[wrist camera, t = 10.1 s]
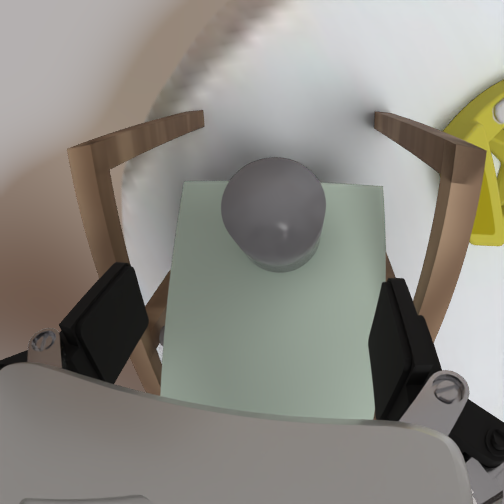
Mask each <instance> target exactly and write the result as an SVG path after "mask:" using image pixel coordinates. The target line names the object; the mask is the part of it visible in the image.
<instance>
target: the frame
mask: <svg viewBox="0 0 504 504" xmlns="http://www.w3.org/2000/svg"><path fill="white" fill-rule="evenodd" d="M202 127H204V116H203V110H199V111H189V112H183V113H179V114H175V115H171V116H167V117H164V118H160V119H156V120H152V121H149V122H145V123H142V124H138V125H135V126H132V127H128V128H125V129H122V130H119V131H116V132H113V133H110V134H107V135H104V136H101V137H98V138H95V139H92V140H89V141H87V142H84V143H81V144H79V145H76V146H73V147H71V148H68V149H67V152H68V157H69V163H70V168H71V173H72V178H73V183H74V188H75V192H76V197H77V201H78V205H79V209H80V214H81V218H82V221H83V225H84V229H85V233H86V236H87V239H88V243H89V247H90V250H91V254H92V257H93V260H94V263H95V266H96V270H97V273H98V275H99V279H100V278H101V277H102V275H103V274H104V273H105V272H106V271H107V270H108V269H109V268H110V267H111V266H112V265H113V264H114V263H115V262H123V263H129V264H130V262H129V258H128V254H127V250H126V246H125V242H124V238H123V233H122V229H121V225H120V221H119V216H118V211H117V206H116V202H115V197H114V191H113V187H112V182H111V175H110V169H112V168H114V167H116V166H118V165H120V164H121V163H124V162H126V161H128V160H130V159H132V158H134V157H136V156H138V155H140V154H142V153H144V152H146V151H148V150H151V149H153V148H155V147H157V146H159V145H162V144H164V143H166V142H168V141H171V140H173V139H175V138H177V137H180V136H182V135H185V134H187V133H189V132H192V131H194V130H197V129H199V128H202ZM374 129H376V130H377V131H379V132H381V133H382V134H384V135H385V136H387V137H388V138H390V139H391V140H393V141H394V142H396V143H398V144H399V145H401V146H402V147H403V148H405V149H406V150H408V151H409V152H411V153H412V154H414V155H415V156H416V157H418V158H419V159H421V160H422V161H423V162H425V163H426V164H428V165H429V166H430V167H432V168H433V169H434V170H436V171H437V172H438V173H440V174H441V177H440V184H439V190H438V197H437V203H436V208H435V214H434V219H433V224H432V229H431V234H430V238H429V243H428V247H427V251H426V256H425V260H424V264H423V268H422V271H421V275H420V279H419V283H418V286H417V290H416V293H415V296H414V300H413V303H414V306H415V309H416V312H417V314H418V315H422V316H424V318H425V320H426V323H427V326H428V329H429V332H430V335H431V338H432V341H433V343H434V341H435V338H436V336H437V334H438V331H439V329H440V326H441V324H442V322H443V319H444V316H445V314H446V311H447V309H448V306H449V303H450V301H451V298H452V295H453V292H454V289H455V287H456V284H457V281H458V278H459V274H460V271H461V268H462V265H463V262H464V258H465V255H466V251H467V248H468V244H469V240H470V237H471V233H472V229H473V225H474V220H475V216H476V211H477V207H478V202H479V197H480V192H481V186H482V181H483V174H484V168H485V161H486V153H487V151H486V150H484V149H482V148H480V147H478V146H476V145H473V144H471V143H469V142H467V141H464V140H462V139H460V138H457V137H455V136H453V135H450V134H448V133H445V132H443V131H440V130H438V129H435V128H432V127H430V126H427V125H424V124H422V123H419V122H416V121H413V120H410V119H407V118H404V117H401V116H398V115H395V114H392V113H385V112H375V119H374ZM170 273H171V270H170V271H169V272H168V274H167V275H166V277H165V278H164V280H163V281H162V283H161V284H160V285H159V287H158V288H157V290H156V291H155V293H154V294H153V296H152V297H151V299H150V300H149V302H148V303H147V305H146V306H145V308H146V312H147V315H148V318H149V324H148V327H147V329H146V330H145V332H144V334H143V335H142V337H141V339H140V340H139V342H138V344H137V345H136V347H135V349H134V350H133V352H132V354H131V355H130V359H131V361H132V363H133V365H134V368H135V370H136V372H137V374H138V376H139V379H140V381H141V383H142V385H143V387H144V389H145V391H146V393H149V394H154V395H158V396H160V393H161V373H162V364H161V361H160V358H159V355H158V353H157V350H156V348H157V347H158V345H159V343H160V340H159V335H160V331H161V328H162V327H163V326H165V320H166V310H167V300H168V290H169V282H170ZM388 278H396V277H395V275H394V272H393V269H392V267H391V264H390V261H389V259H388V256H387V253H386V282H387V280H388ZM373 420H376V415H375V412H374V418H373Z"/></svg>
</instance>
